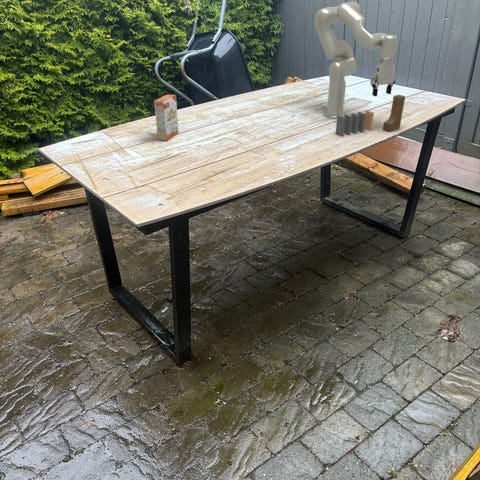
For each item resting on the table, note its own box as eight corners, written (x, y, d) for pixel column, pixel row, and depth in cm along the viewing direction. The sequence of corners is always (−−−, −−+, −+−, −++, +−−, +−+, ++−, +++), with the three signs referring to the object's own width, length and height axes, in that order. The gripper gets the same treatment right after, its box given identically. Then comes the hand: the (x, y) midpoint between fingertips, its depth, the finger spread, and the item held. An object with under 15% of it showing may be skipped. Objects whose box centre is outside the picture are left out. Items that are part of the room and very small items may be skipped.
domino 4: (355, 129, 252) (357, 111, 247) (357, 129, 253) (360, 111, 247) (361, 132, 248) (363, 114, 243) (363, 132, 249) (366, 114, 244)
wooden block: (388, 132, 249) (394, 98, 239) (382, 129, 252) (387, 97, 242) (399, 128, 253) (405, 96, 243) (393, 126, 256) (399, 94, 246)
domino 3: (348, 131, 251) (351, 113, 245) (351, 130, 251) (353, 112, 246) (354, 133, 247) (357, 115, 241) (357, 133, 247) (359, 115, 242)
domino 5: (363, 128, 254) (365, 110, 249) (365, 127, 255) (368, 110, 249) (369, 130, 250) (371, 112, 245) (371, 130, 251) (374, 112, 246)
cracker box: (167, 141, 240) (163, 101, 229) (157, 140, 242) (153, 100, 230) (179, 133, 251) (176, 94, 240) (169, 131, 253) (166, 93, 241)
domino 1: (335, 133, 247) (337, 115, 242) (337, 133, 248) (339, 115, 243) (341, 136, 244) (343, 118, 238) (343, 135, 244) (345, 117, 239)
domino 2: (342, 132, 249) (344, 114, 244) (344, 131, 250) (346, 113, 244) (347, 135, 245) (350, 116, 240) (350, 134, 246) (352, 116, 240)
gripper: (377, 64, 230) (373, 98, 239) (404, 60, 236) (398, 94, 245) (368, 61, 236) (364, 95, 245) (394, 58, 242) (389, 91, 251)
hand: (381, 94), depth 245 cm, fingers open, 8 cm apart
